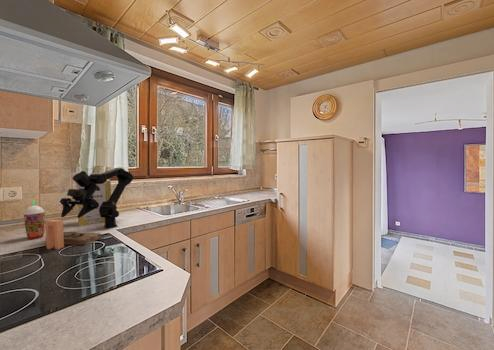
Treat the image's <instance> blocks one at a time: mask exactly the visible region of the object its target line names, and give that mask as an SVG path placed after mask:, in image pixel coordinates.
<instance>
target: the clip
mask: <svg viewBox="0 0 494 350" xmlns="http://www.w3.org/2000/svg"><path fill="white" fill-rule="evenodd" d="M63 220H64V219H49V220H46V221H45V224H44V230H45V243H46V244H45V245H46V250H50V249H53V248H54V250H59V249H62V248H65V244H64V236H63V232H64V224H63V223H64V221H63Z"/></svg>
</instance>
